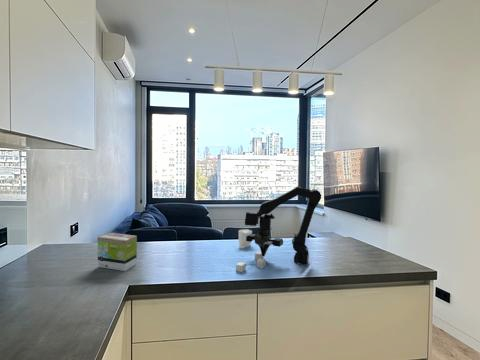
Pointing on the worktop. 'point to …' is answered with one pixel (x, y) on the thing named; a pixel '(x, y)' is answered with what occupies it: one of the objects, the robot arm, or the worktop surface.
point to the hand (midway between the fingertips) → (263, 256)
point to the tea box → (117, 251)
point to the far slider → (258, 255)
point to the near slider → (240, 267)
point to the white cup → (244, 238)
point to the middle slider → (261, 263)
